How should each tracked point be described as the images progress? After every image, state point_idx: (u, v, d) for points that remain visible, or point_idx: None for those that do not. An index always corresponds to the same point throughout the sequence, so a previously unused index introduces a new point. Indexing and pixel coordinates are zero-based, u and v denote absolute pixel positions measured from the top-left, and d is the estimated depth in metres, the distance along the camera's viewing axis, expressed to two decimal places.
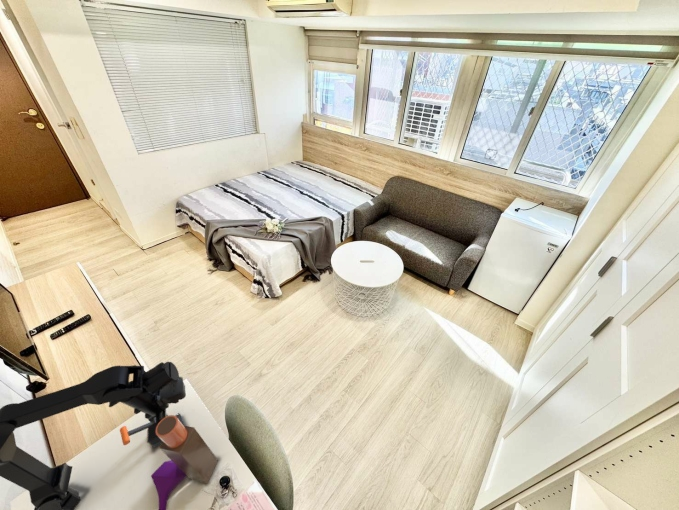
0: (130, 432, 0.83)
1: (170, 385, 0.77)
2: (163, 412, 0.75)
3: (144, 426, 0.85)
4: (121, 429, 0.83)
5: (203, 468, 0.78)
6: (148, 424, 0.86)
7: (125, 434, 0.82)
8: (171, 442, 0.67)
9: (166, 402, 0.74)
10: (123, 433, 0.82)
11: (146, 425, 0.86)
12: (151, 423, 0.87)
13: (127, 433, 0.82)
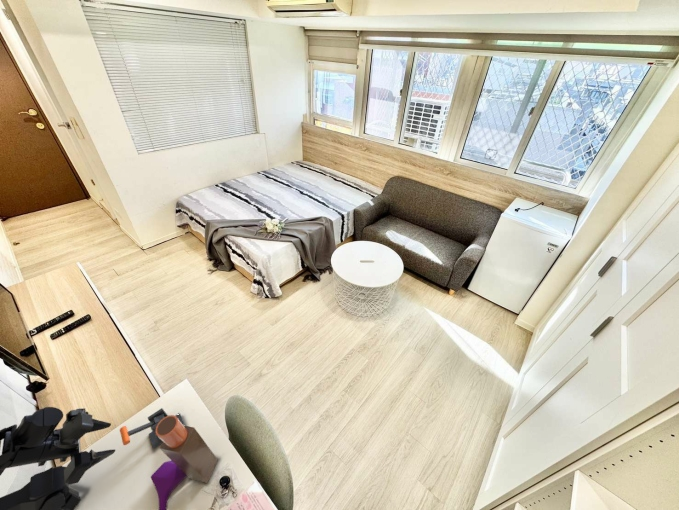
0: (130, 432, 0.83)
1: (69, 423, 0.70)
2: (77, 449, 0.70)
3: (144, 426, 0.85)
4: (121, 429, 0.83)
5: (203, 468, 0.78)
6: (148, 424, 0.86)
7: (125, 434, 0.82)
8: (171, 442, 0.67)
9: (70, 442, 0.68)
10: (123, 433, 0.82)
11: (146, 425, 0.86)
12: (151, 423, 0.87)
13: (127, 433, 0.82)
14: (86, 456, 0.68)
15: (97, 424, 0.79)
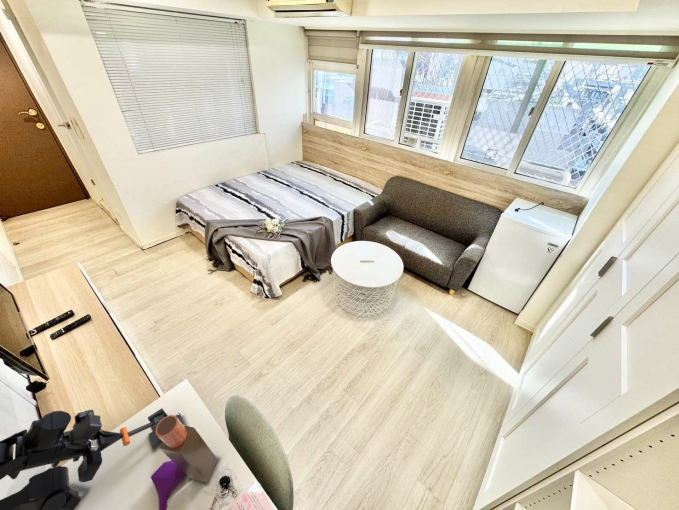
0: (130, 433, 0.83)
1: (78, 425, 0.72)
2: None
3: (144, 426, 0.85)
4: (121, 430, 0.83)
5: (203, 468, 0.78)
6: (148, 424, 0.86)
7: (125, 435, 0.82)
8: (171, 442, 0.67)
9: (80, 442, 0.71)
10: (123, 434, 0.82)
11: (146, 425, 0.86)
12: (151, 423, 0.87)
13: (127, 434, 0.82)
14: (97, 455, 0.71)
15: (108, 436, 0.79)
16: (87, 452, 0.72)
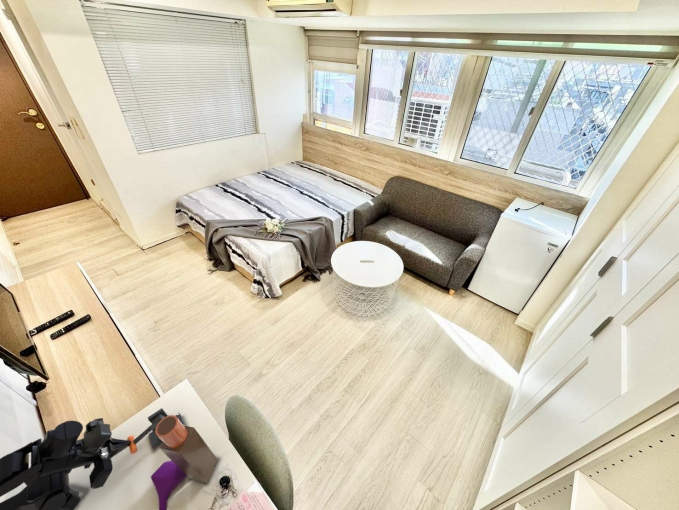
0: (135, 441, 0.85)
1: (90, 434, 0.76)
2: None
3: (146, 431, 0.87)
4: None
5: (203, 468, 0.78)
6: (149, 428, 0.87)
7: None
8: (171, 442, 0.67)
9: (92, 450, 0.74)
10: None
11: (147, 429, 0.87)
12: (151, 426, 0.87)
13: (132, 442, 0.85)
14: (108, 462, 0.74)
15: (118, 443, 0.82)
16: (98, 459, 0.76)
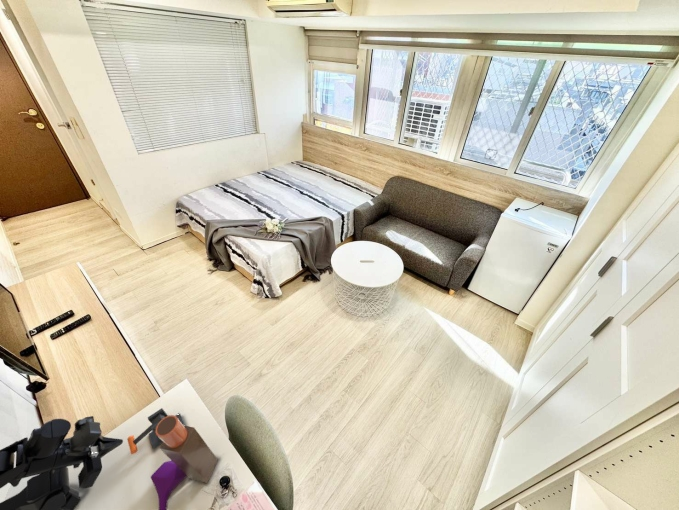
0: (135, 441, 0.85)
1: (78, 432, 0.73)
2: None
3: (146, 431, 0.87)
4: None
5: (203, 468, 0.78)
6: (149, 428, 0.87)
7: (130, 445, 0.85)
8: (171, 442, 0.67)
9: (81, 449, 0.72)
10: (129, 444, 0.85)
11: (147, 429, 0.87)
12: (151, 426, 0.87)
13: (133, 442, 0.85)
14: (97, 462, 0.72)
15: (108, 442, 0.80)
16: (87, 459, 0.73)
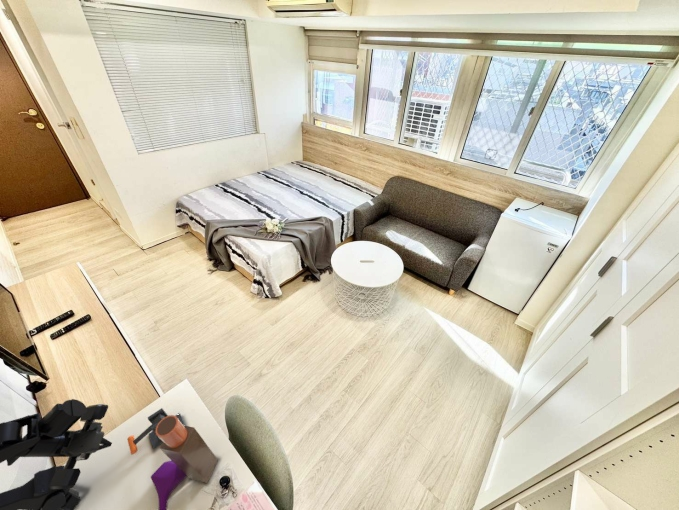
0: (135, 441, 0.85)
1: (83, 435, 0.70)
2: None
3: (146, 431, 0.87)
4: None
5: (203, 468, 0.78)
6: (149, 428, 0.87)
7: (130, 445, 0.85)
8: (171, 442, 0.67)
9: (73, 454, 0.69)
10: (129, 444, 0.85)
11: (147, 429, 0.87)
12: (151, 426, 0.87)
13: (133, 442, 0.85)
14: (75, 476, 0.69)
15: (100, 442, 0.77)
16: (73, 458, 0.71)
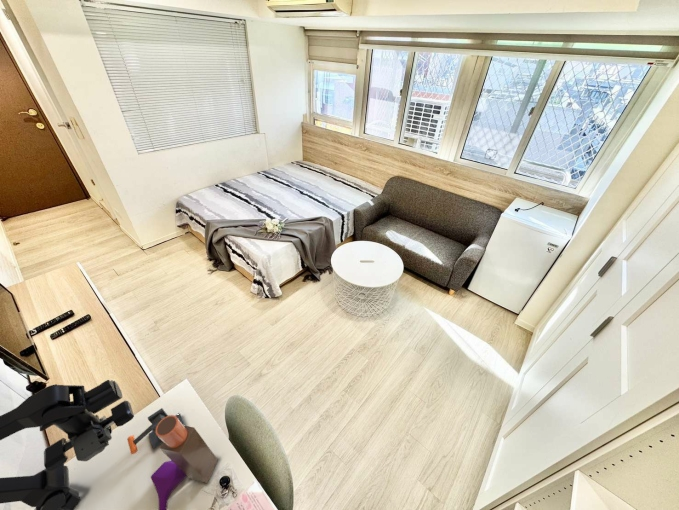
0: (135, 441, 0.85)
1: (92, 439, 0.69)
2: None
3: (146, 431, 0.87)
4: None
5: (203, 468, 0.78)
6: (149, 428, 0.87)
7: (130, 445, 0.85)
8: (171, 442, 0.67)
9: (74, 447, 0.69)
10: (129, 444, 0.85)
11: (147, 429, 0.87)
12: (151, 426, 0.87)
13: (133, 442, 0.85)
14: (59, 463, 0.68)
15: None
16: None
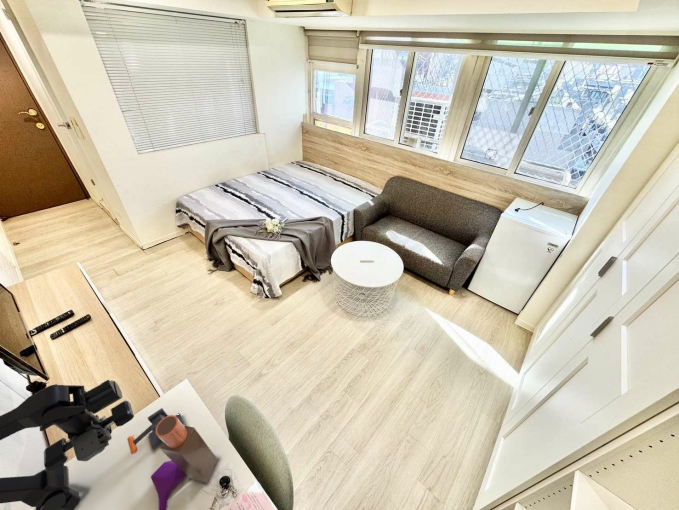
0: (135, 441, 0.85)
1: (92, 439, 0.69)
2: None
3: (146, 431, 0.87)
4: None
5: (203, 468, 0.78)
6: (149, 428, 0.87)
7: (130, 445, 0.85)
8: (171, 442, 0.67)
9: (74, 447, 0.69)
10: (129, 444, 0.85)
11: (147, 429, 0.87)
12: (151, 426, 0.87)
13: (133, 442, 0.85)
14: (59, 463, 0.68)
15: None
16: None
